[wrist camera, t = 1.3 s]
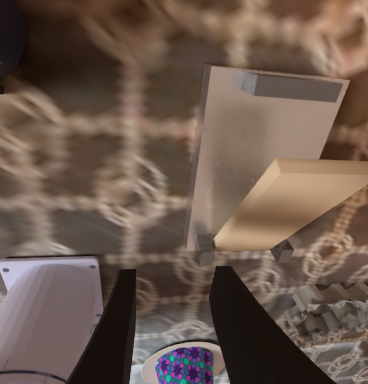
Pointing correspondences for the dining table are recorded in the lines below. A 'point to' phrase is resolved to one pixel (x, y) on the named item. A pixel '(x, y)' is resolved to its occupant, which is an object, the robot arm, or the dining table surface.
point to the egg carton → (330, 321)
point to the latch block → (251, 141)
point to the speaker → (11, 37)
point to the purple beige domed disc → (184, 364)
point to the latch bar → (289, 201)
